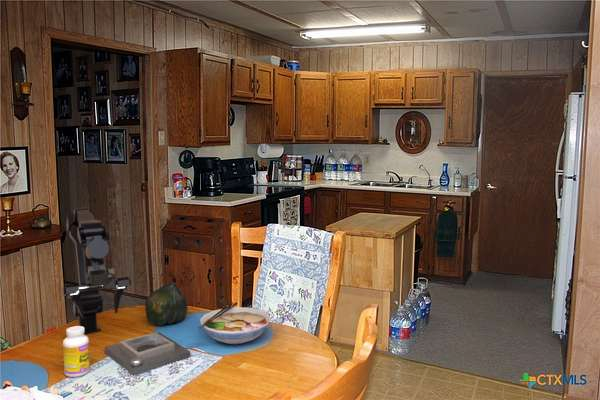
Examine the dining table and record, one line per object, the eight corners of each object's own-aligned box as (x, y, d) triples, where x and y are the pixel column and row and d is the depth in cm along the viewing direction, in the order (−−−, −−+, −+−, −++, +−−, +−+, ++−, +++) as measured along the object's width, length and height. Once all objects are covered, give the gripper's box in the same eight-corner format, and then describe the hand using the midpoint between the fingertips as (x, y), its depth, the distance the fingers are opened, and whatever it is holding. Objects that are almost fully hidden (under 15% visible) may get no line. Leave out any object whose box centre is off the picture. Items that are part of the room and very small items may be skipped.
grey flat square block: (105, 353, 162) (104, 340, 162) (159, 338, 174) (158, 326, 174) (133, 375, 148) (132, 361, 147) (190, 357, 159) (190, 344, 159)
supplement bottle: (80, 379, 145) (78, 334, 144) (59, 376, 147) (56, 332, 145) (94, 368, 152) (92, 325, 150) (74, 366, 153) (71, 323, 152)
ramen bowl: (251, 361, 157) (251, 334, 156) (184, 349, 165) (184, 324, 164) (282, 331, 181) (282, 308, 180) (223, 322, 188) (222, 300, 187)
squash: (129, 310, 185) (152, 281, 181) (156, 299, 199) (179, 272, 194) (154, 340, 182) (179, 313, 177) (180, 327, 196) (203, 301, 191)
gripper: (63, 263, 148) (68, 319, 145) (131, 255, 157) (137, 308, 154) (59, 268, 157) (64, 321, 154) (124, 261, 166) (130, 311, 164)
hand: (100, 315), depth 156 cm, fingers open, 9 cm apart
